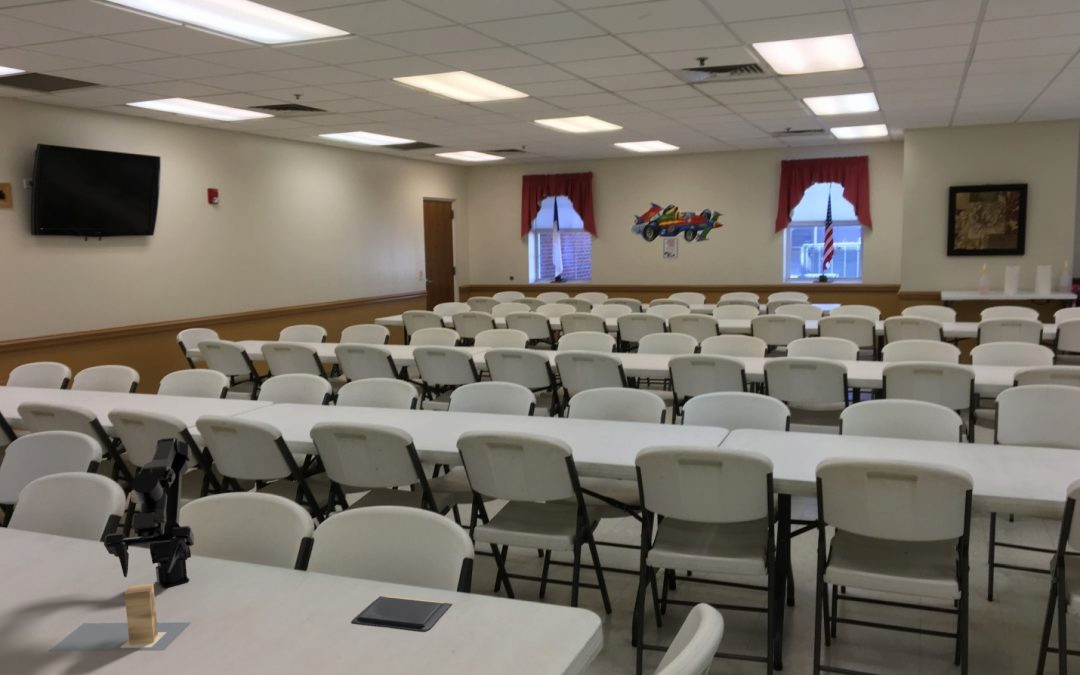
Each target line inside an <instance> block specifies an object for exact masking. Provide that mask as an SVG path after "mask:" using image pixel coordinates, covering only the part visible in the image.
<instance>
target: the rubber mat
mask: <svg viewBox="0 0 1080 675" xmlns="http://www.w3.org/2000/svg"><path fill="white" fill-rule="evenodd" d="M191 624H192V622H189V621H188V622H187V621H186V622H183V621H182V622H179V621H178V622H174V621H173V622H157V630H158V635H157V637H156V639H155V641H154V642H152V643H144V644H136V645H130V643H129V633H128V622H84V623H82V624H81V625H79V626H78V627H77V628H76V629H74V630H73V631H72V632H71V633H69V634H68V635H67V636H65V637H64V638H63V639H62V640H61V641H59V642H57V644H55V645H54V646H53V647H52V648H51V649H49V650H48V651H49V652H52V651H53V652H61V651H63V652H65V651H66V652H67V651H69V652H72V651H73V652H75V651H76V652H78V651H80V652H82V651H83V652H86V651H91V652H92V651H94V652H95V651H97V652H99V651H165V650H166V649H167V648H168V647H169V646H170V645H171V644H172V643H173V642H174V641H175V640H176V639H177V638H178V637H179V636H180V635H182V633H183V632H184V631H185V630H186V629H187V628H188V627H189V626H190V625H191Z"/></svg>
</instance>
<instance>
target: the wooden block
mask: <svg viewBox="0 0 1080 675" xmlns="http://www.w3.org/2000/svg"><path fill="white" fill-rule="evenodd" d="M155 598H156V597H155V589H154V583H147V584H146V583H145V584H138V585H129V587H128V588H127V589H126V591H125V593H124V600H125V609H126V620H127V622H126V623H128V633H129V643H130V645H136V644H144V643H152V642H154V641H155V639H156V637H157V635H158V630H157V623H158V622H157V612H156V611H157V610H156V601H155V600H156V599H155Z"/></svg>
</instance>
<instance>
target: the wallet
mask: <svg viewBox="0 0 1080 675" xmlns="http://www.w3.org/2000/svg"><path fill="white" fill-rule="evenodd" d="M452 606H453V603H448V602H442V601H441V602H440V601H432V600H431V601H430V600H422V599H413V598H404V597H394V596H381V595H380V596H378V597H377V598H376V599H375V600H373V601H372V602H371V603H369V605H368V606H367V607H365V608H364V609H363V610H362V611H361V612H359V613H358V614H357V615H356V616H355V617H354V618H353V619H352V620H351V622H350V624H354V625H361V626H371V627H378V628H379V627H380V628H387V629H397V630H404V631H412V632H419V633H420V632H421V633H426V632H428V631H430V630H431V629H432V628H433V627H434V626H435V625H436V624H437V622H439V620H441V618H442V617H443V616H444V615H445V614H446V613H447V611H449V609H450V608H451V607H452Z"/></svg>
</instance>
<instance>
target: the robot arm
mask: <svg viewBox="0 0 1080 675" xmlns="http://www.w3.org/2000/svg"><path fill="white" fill-rule="evenodd" d="M192 455H193V454H192V449H191V447H190V445H189V443H187V442H184V441H181V440H180V439H179V438H178V437H166V438H164V437H163V438H160V439H158V440H157V444H156V446H155V452H154V455H153V457H152V459H151V461H150V462H147V463H145V464H143V466H142V467H141V469H140V471H139V472H138V473H137V475H135V477H133V480H132V481H131V487H132V490H133V492H134V494H135V496H136V498H137V500H138V501H139V503H140V508H139V512H138V513H136V514H133V515H132V529H133V533H134V534H135V535H136V536H131V537H127V536H126V534H125V532H116V533H107V535H106V536H105V537H104V542H103V545H104V548H105V549H106V550H107V552H108V554H109V555H113V556H114V557H116V558H118V559H119V562H120V567H121V571H122V573H123V577H124V578H127V577H128V573H129V560H130V559H129V557H130V554H129V552H128V551H129V547H132V546H141V545H142V546H143V545H149V552H150V553H149V554H150V559H151V562H152V563H151V564H153V565H154V564H157V566H155V575H156V576H155V577H156V582H157V584H159V585H160V586H161V587H162V588H163V589H166V588H169V587H173V586H176V585H180V584H184V583H187V582H189V581H190V578H189V577H188V573H187V562H186V561H187V560H188V559H190V558H192V552H191V551H192V549H191V547H192V546H194V544H195V535H194V532H193V530H192V528H191V527H190V526H189V525H184V526H181V525H180V518H181V517H180V514H181V513H180V512H181V499H182V497H181V496H182V485H183V484H182V479H183V476H184V475H185V474H186V473H187V471H188V470H189V468H190V461H192Z"/></svg>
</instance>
